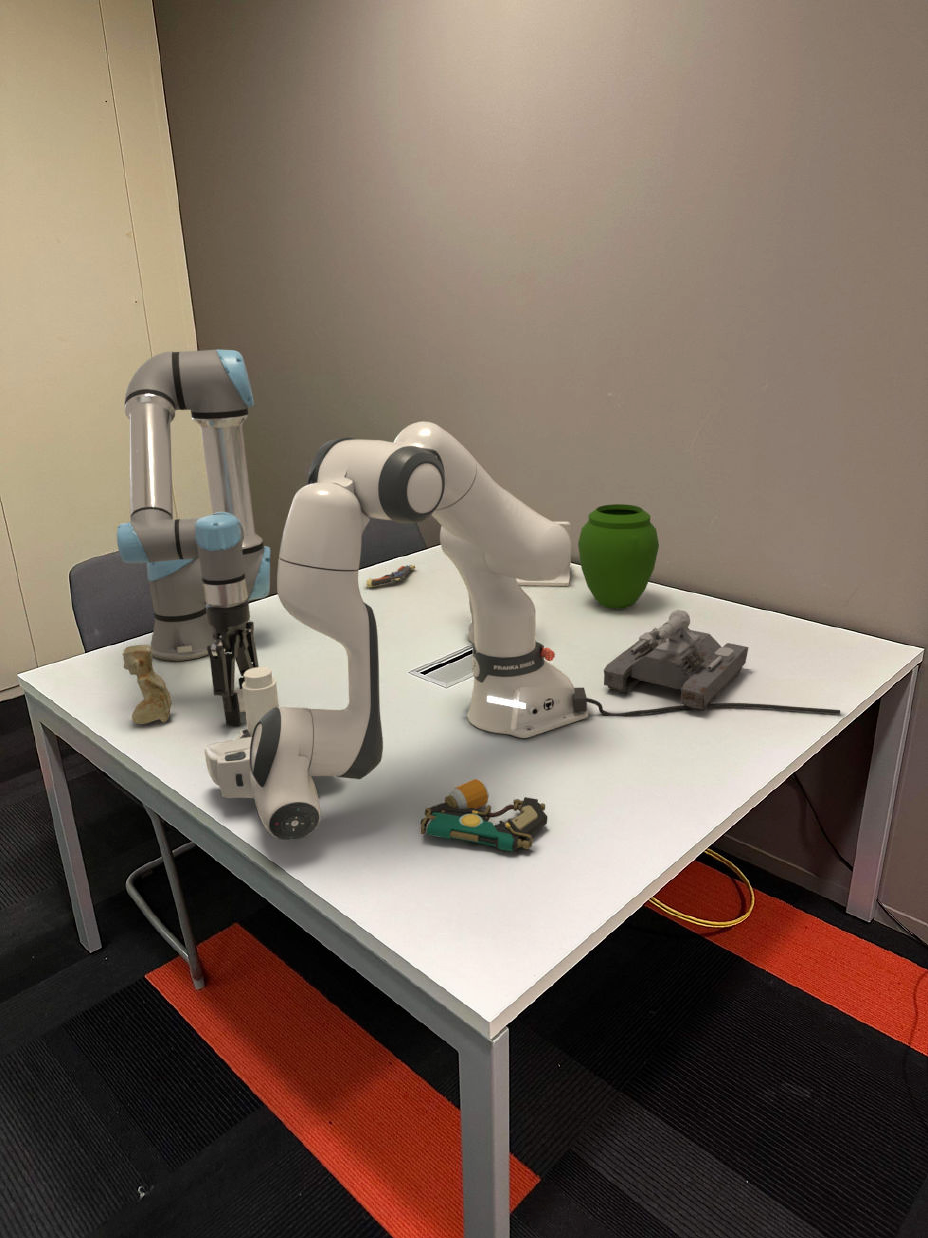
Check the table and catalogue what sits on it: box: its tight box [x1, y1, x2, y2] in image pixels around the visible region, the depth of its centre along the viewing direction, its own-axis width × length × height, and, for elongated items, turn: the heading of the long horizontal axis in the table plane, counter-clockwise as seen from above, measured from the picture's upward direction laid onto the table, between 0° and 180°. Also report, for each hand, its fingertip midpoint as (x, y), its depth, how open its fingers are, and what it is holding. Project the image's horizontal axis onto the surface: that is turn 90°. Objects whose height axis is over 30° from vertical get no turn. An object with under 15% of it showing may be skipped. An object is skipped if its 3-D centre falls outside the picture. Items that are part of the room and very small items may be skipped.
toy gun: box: [365, 564, 417, 588], centre depth 239 cm, size 3×19×10 cm
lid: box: [234, 688, 245, 713], centre depth 161 cm, size 6×6×2 cm
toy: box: [603, 609, 749, 711], centre depth 169 cm, size 25×20×15 cm
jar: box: [242, 666, 280, 737], centre depth 143 cm, size 6×6×17 cm
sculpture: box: [122, 644, 173, 725], centre depth 159 cm, size 6×7×15 cm
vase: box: [577, 503, 660, 610], centre depth 210 cm, size 20×20×24 cm
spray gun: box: [420, 778, 548, 852], centre depth 125 cm, size 4×17×15 cm
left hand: (241, 716), depth 162 cm, fingers closed on lid, 6 cm apart
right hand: (264, 729), depth 144 cm, fingers closed on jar, 5 cm apart
